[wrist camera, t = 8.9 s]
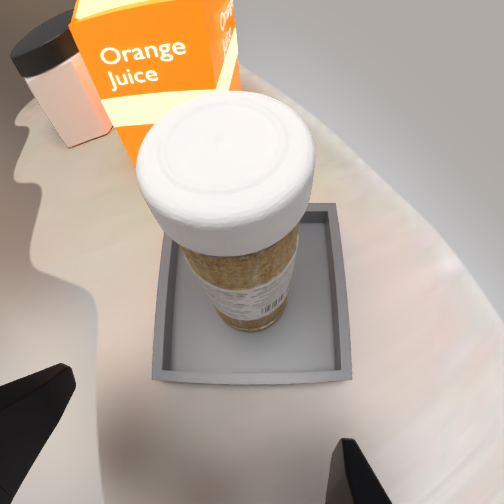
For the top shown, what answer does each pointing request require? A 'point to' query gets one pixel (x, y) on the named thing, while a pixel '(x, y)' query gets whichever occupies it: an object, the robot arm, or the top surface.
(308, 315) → the tray
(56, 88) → the jar
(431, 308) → the top surface
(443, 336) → the top surface
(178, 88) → the orange juice
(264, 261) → the spice shaker
